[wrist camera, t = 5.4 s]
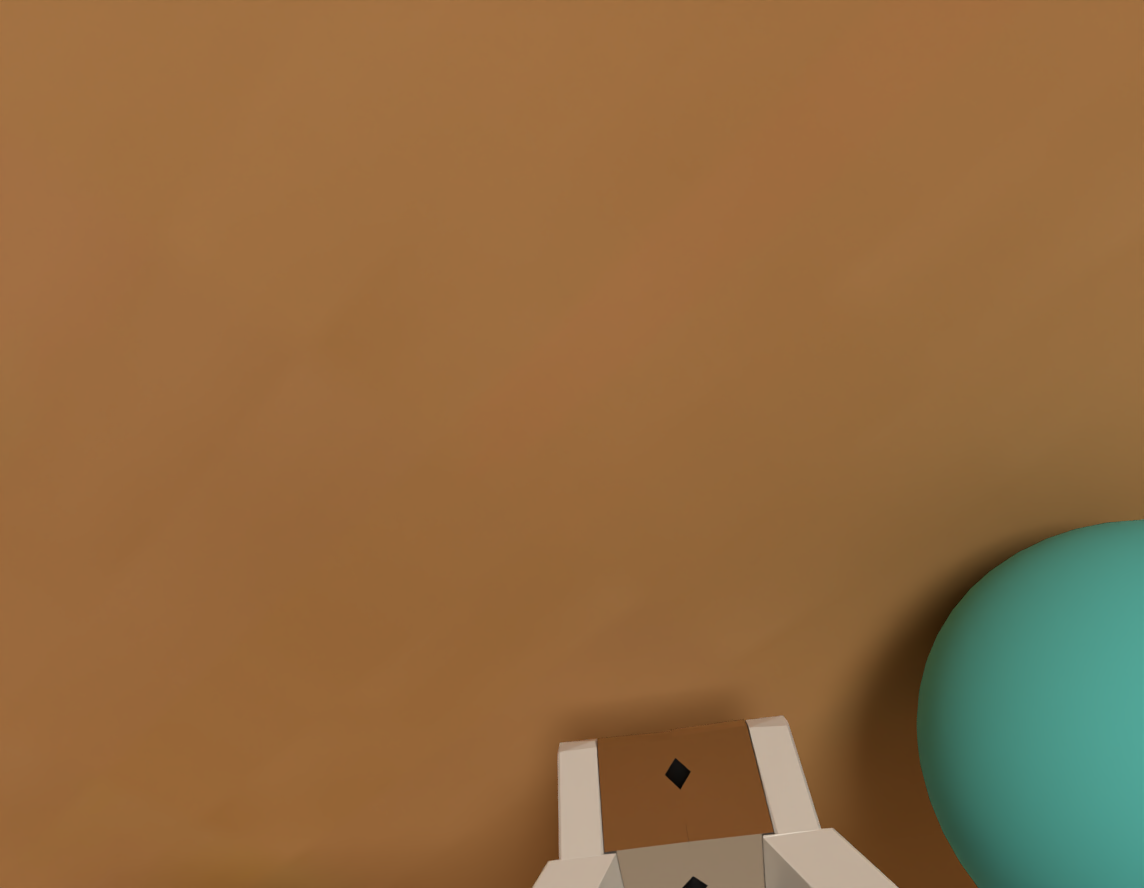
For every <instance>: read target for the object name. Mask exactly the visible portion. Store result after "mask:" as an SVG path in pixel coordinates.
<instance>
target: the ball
mask: <svg viewBox="0 0 1144 888" xmlns="http://www.w3.org/2000/svg"><path fill="white" fill-rule="evenodd" d="M917 741H918V751H919V758H920V764H921V769H922V773H923V776H924V780H925V784H926V788H927V792H928V795H929V799H930V802H931V804H932V807H933V809H934V811H935V814H936V816H937V819H938V821H939V823H940V826H941V828H942V831H943V833H944V835H945V836H946V838H947V840H948V842H949V844H950V845H951V847H952V849H953V851H954V852H955V854H956V856H957V858H958V860H959V861H960V863H961V864H962V866H963V867H964V869H965V870H966V871H967V873H968V874H969V876H970V877H971V878H972V880H973V881H974V882H975V884H976V885H977V887H978V888H1144V520H1133V521H1121V522H1109V523H1102V524H1098V525H1093V526H1088V527H1083V528H1078V529H1074V530H1071V531H1068V532H1065V533H1062V534H1059V535H1056V536H1053V537H1050V538H1047V539H1045V540H1043V541H1041V542H1039V543H1037V544H1034V545H1032V546H1030V547H1028V548H1026V549H1024V550H1022V551H1020V552H1018V553H1017V554H1015V555H1013V556H1012V557H1010V558H1009V559H1007V560H1006V561H1004V562H1003V563H1001V564H1000V565H998V566H997V567H995V568H994V569H992V570H991V571H990V572H988V573H987V574H986V575H985V576H984V577H983V578H982V579H981V580H980V581H978V582H977V583H976V584H975V585H974V586H973V587H972V588H971V589H970V590H969V591H968V592H967V593H966V595H965V596H964V597H963V598H962V599H961V601H960V602H959V603H958V604H957V605H956V607H955V608H954V609H953V610H952V612H951V613H950V615H949V616H948V618H947V620H946V621H945V623H944V625H943V626H942V628H941V630H940V631H939V633H938V635H937V637H936V639H935V642H934V644H933V646H932V649H931V651H930V654H929V656H928V659H927V661H926V665H925V669H924V673H923V677H922V681H921V685H920V689H919V699H918V711H917Z"/></svg>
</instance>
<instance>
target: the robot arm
mask: <svg viewBox="0 0 1144 888" xmlns="http://www.w3.org/2000/svg"><path fill="white" fill-rule="evenodd" d="M558 817H559V859H557V860H551V861H548V862H547V863H546V865H545V867H544V868H543V870H542V872H541V873H540V875H539V877H538V878H537V880H536V882H535V883H534V885H533V887H532V888H899V887H897V886H896V885H895V884H894V883H893V882H892V881H891V880H890V879H889V878H888V877H886V876H885V875H884V874H883V873H882V872H881V871H880V870H879V869H878V868H877V867H876V866H874V865H873V864H872V863H871V862H870V861H869V860H868V859H867V858H866V857H865V856H863V855H862V854H861V853H860V852H859V851H858V850H857V849H856V848H855V847H854V846H853V845H851V844H850V843H849V842H848V841H847V840H846V839H845V838H844V837H843V836H842V835H840V834H839V833H838V832H837V831H836V830H835V829H834V828H822V829H821V827H820V823H819V820H818V817H817V814H816V811H815V807H814V804H813V801H812V798H811V794H810V791H809V788H808V785H807V782H806V778H805V775H804V772H803V769H802V765H801V762H800V759H799V756H798V753H797V749H796V746H795V743H794V740H793V736H792V733H791V730H790V727H789V724H788V721H787V720H786V719H785V717H784V716H783V715H781V716H773V717H765V718H758V719H750V720H746V721H744V719H743V720H735V721H728V722H721V723H714V724H707V725H700V726H692V727H685V728H678V729H671V731H667V732H657V733H647V734H637V735H626V736H616V737H606V738H598V739H597V738H596V739H587V740H579V741H570V742H562V743H560V744H559V750H558Z"/></svg>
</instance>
